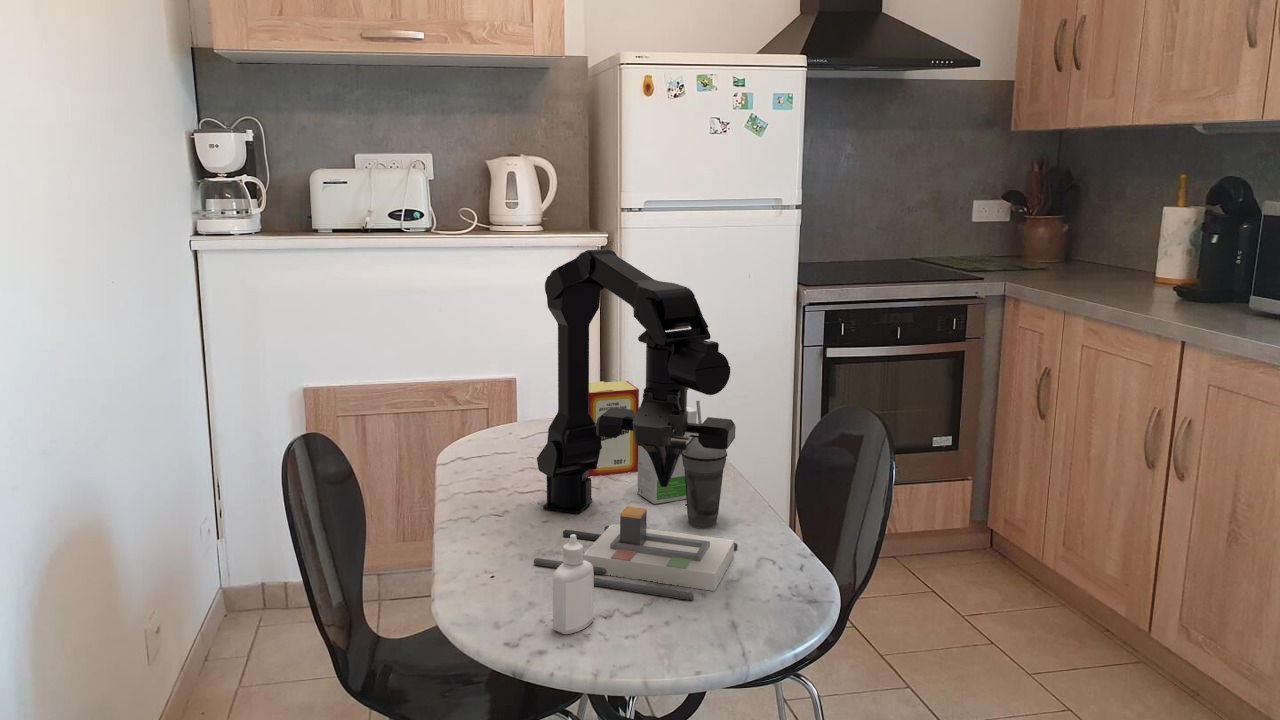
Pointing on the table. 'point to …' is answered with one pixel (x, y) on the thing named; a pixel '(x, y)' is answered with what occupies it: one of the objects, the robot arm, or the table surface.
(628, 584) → the rod
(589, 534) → the rod
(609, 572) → the breaker switch base
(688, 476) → the beverage cup
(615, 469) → the baking soda box
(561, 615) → the eye dropper bottle
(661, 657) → the table surface
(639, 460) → the skincare box
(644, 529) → the breaker toggle
